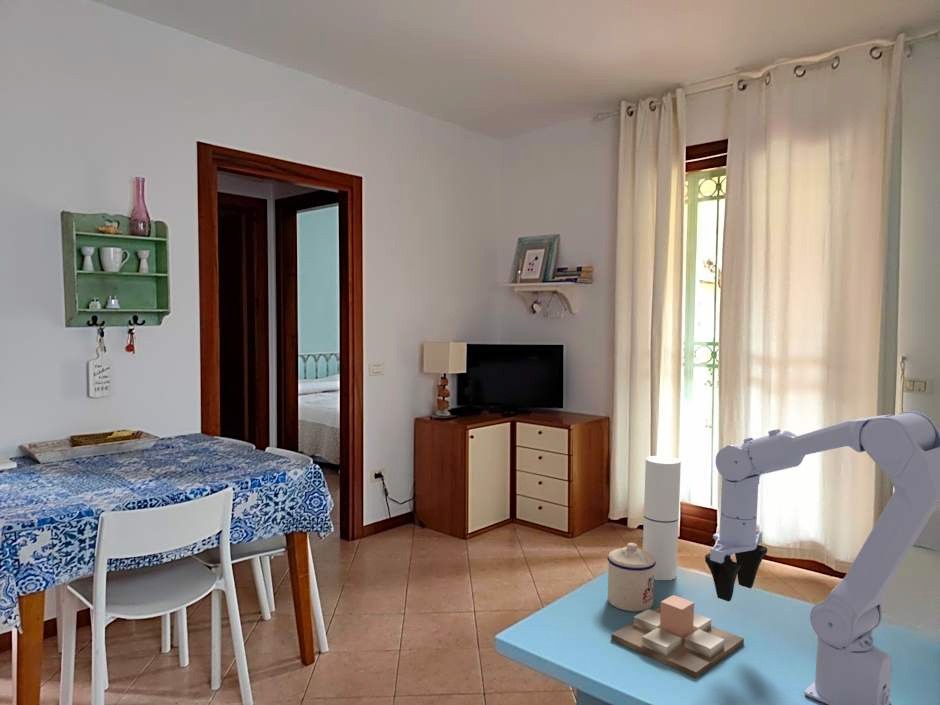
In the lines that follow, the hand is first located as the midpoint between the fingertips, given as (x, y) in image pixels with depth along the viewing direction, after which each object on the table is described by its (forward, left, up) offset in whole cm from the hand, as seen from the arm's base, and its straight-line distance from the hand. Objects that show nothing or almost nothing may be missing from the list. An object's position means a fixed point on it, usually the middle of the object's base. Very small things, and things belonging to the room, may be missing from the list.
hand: (735, 592), depth 115 cm
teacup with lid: (+22, -2, -10) cm, 24 cm away
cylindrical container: (+25, -17, -10) cm, 32 cm away
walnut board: (+7, +6, -9) cm, 13 cm away
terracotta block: (+7, +6, -8) cm, 13 cm away
